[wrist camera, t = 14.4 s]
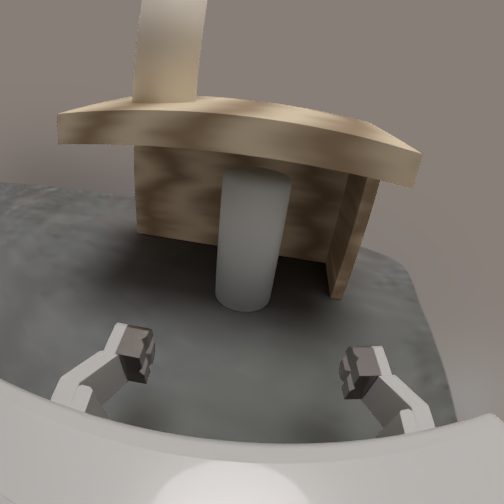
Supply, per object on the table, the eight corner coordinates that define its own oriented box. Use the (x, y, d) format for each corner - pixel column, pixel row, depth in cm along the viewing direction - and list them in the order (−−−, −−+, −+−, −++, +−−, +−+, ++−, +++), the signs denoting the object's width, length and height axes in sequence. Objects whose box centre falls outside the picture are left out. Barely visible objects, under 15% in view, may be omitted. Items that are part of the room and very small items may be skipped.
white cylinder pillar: (209, 306, 23) (216, 183, 18) (221, 272, 27) (230, 163, 22) (268, 316, 23) (292, 194, 18) (272, 280, 27) (291, 172, 22)
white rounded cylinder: (120, 103, 17) (135, -28, 12) (148, 97, 21) (160, -13, 16) (183, 104, 17) (201, -36, 12) (203, 99, 21) (217, -17, 15)
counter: (85, 297, 22) (56, 113, 14) (141, 228, 32) (139, 95, 24) (348, 346, 21) (422, 154, 13) (333, 259, 31) (368, 122, 23)
